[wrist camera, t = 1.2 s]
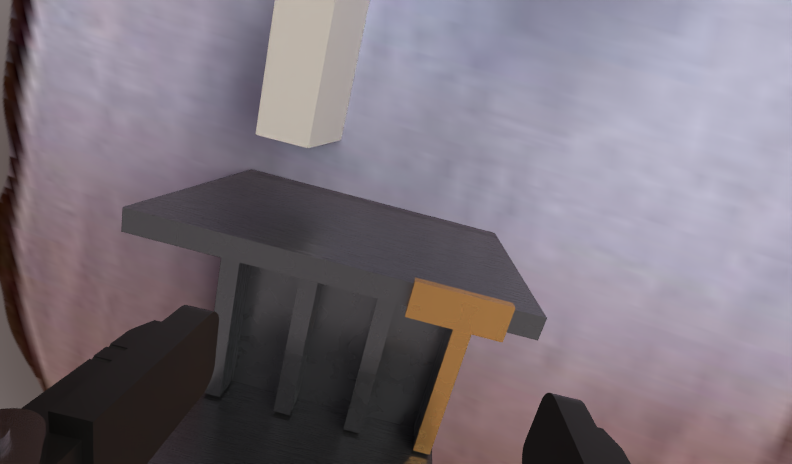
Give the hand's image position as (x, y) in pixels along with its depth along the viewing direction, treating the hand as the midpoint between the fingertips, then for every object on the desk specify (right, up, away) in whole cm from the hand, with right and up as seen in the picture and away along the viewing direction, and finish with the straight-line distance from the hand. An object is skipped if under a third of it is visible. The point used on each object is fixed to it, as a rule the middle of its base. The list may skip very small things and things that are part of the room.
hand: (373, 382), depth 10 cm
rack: (-4, -3, +25) cm, 25 cm away
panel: (-4, +17, +19) cm, 26 cm away
